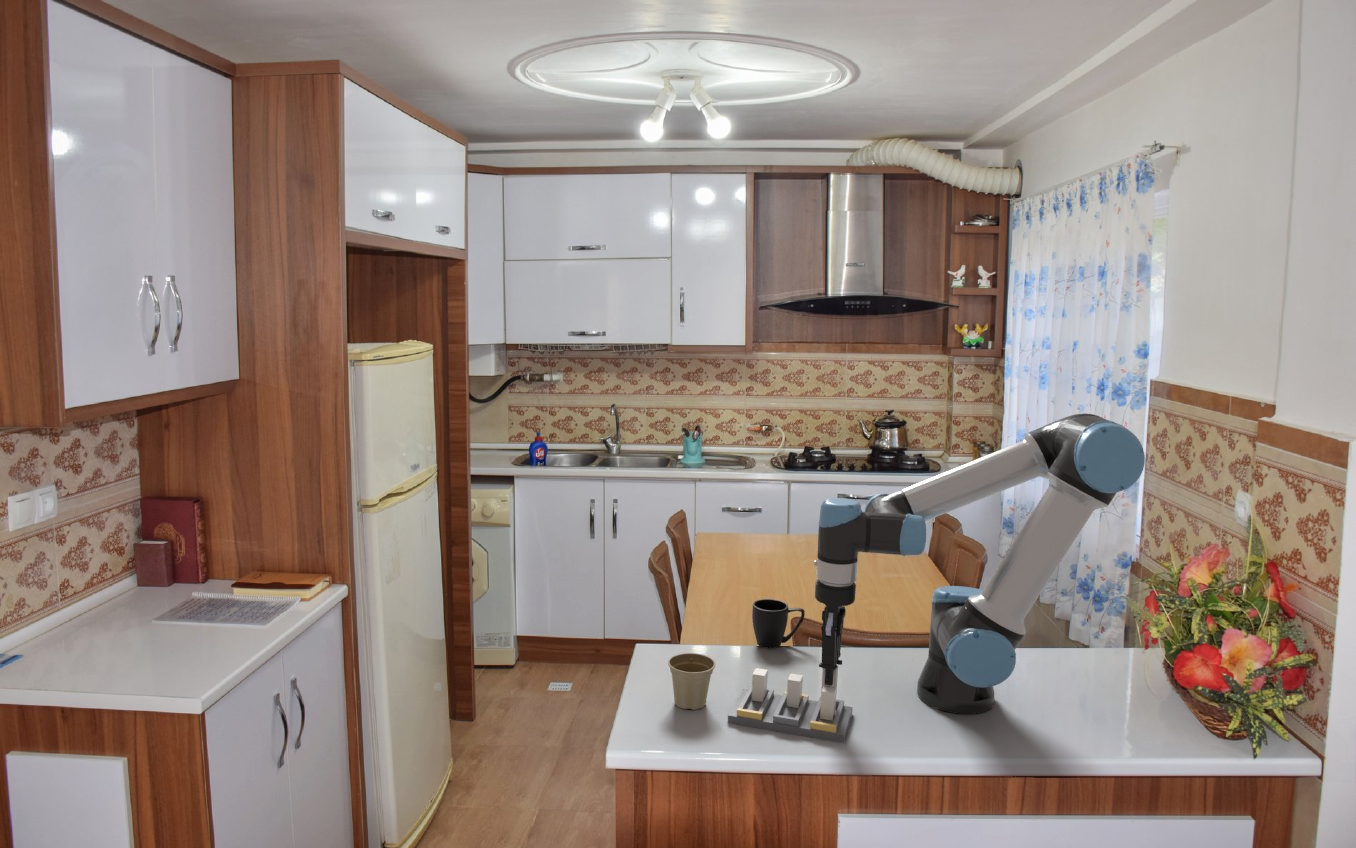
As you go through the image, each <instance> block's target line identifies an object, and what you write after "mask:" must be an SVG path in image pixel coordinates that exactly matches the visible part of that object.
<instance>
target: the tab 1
mask: <svg viewBox="0 0 1356 848" xmlns="http://www.w3.org/2000/svg"><path fill="white" fill-rule="evenodd" d="M768 674H769V670H768V669H766V668H765V669H764V668H758V667H756V668H755V669H754V670H753V673H752V679H751V682H752V683H751V686H752V701H758V702H764V700H765V698H766V696H767V688H768V678H769V677H768V676H769V675H768Z"/></svg>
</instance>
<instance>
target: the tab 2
mask: <svg viewBox="0 0 1356 848" xmlns="http://www.w3.org/2000/svg"><path fill="white" fill-rule="evenodd" d="M803 677H804V675H803V674H796V673H790V674H789V675H788V678H787V686H786V687H787V689H786V690H787V706H788V707H794V708H799V707H800V704H801V702H802V694H803V681H804V680H803V679H804V678H803Z"/></svg>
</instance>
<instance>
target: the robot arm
mask: <svg viewBox="0 0 1356 848" xmlns="http://www.w3.org/2000/svg"><path fill="white" fill-rule="evenodd" d="M1145 463H1146V457H1145V451H1144V448H1143V444H1142V442H1141V441H1140V440H1139V438H1138V437H1137V436H1136V435H1135V433H1133V432H1132V431H1130V430H1129V428H1127V427H1125V426H1123V424H1120V423H1118V422H1115V421H1112V420H1108V419H1105V418H1104V417H1101V416H1099V415H1097V414H1094V413H1087V412H1086V413H1076V414H1072V415H1071V414H1070V415H1068V416H1065V417H1062V418H1060V419H1057V420H1055V421H1052V422H1051V423H1050V422H1049V423H1048V424H1046V425H1043V426H1041V427H1038V428H1036V429H1034V430H1031V431H1028V432H1026V433H1025V434H1024V437H1023V439H1022V440H1021V441H1020V440H1019V441H1018V442H1015V443H1014V444H1010V445H1009V446H1005V447H1004V448H1001V449H998V450H996V451H994V452H991V453H988V454H987V455H984V456H982V457H979V458H977V459H974V460H972V461H969V462H967V463H965V464H962V465H959V466H957V467H954V468H952V469H950V470H948V471H945V472H941V473H939V474H938V475H935V476H933V477H930V478H927V479H925V480H923V481H919V482H918V483H914V484H913V485H911V486H908V487H906V488H903V489H901V490H897V491H894V492H893V493H890V494H889V493H878V494H877V493H876V494H874V495H873V496H871V497H870V498H869V499H868V501H866V504H865V507H864V511H863V509H862V505H861V503H860V502H859V501H857V500H854V499H850V498H846V497H845V498H843V497H832V498H827V499H826V500H824V501H823V502H822V503H821V505H820V511H819V521H818V534H817V535H818V537H817V556H816V557H817V558H816V559H817V560H814V562H813V565H814V566H815V567H817V568H816V576H815V577H816V578H817V579H816V580H815V586H814V587H815V588H814V598H815V600H816V601H817V602H818V603H822V604H823V605H825V606H824V610H822V612H821V620H822V625H821V627H820V630H821V662H819V664H818V667H819V668H821V669H822V674H821V676H822V677H821V693H822V689H823V686H824V685H828V686H835V687H837V689H836V694H837V693H838V692H837V690H838V678H839V677H838V675H839V673H838V672H839V665H840V666H842V665H843V660H842V659H840V658H841V655H842V654H841V649H842V638H843V630H844V621H845V617H846V612H847V611H846V610H847V609H846V607H847V606H850V605H852V604H854V603H855V600H856V590H857V589H856V587H857V583H855V582H857V579H858V578H857V577H858V564H859V561H858V560H859V559H858V557H859V553H868V554H883V555H896V556H897V555H898V556H903V557H905V556H920V555H922V554H923V552H924V551H925V549H926V548H925V547H926V543H927V524H926V521H929V520H932V519H934V518H937V517H939V516H942V515H944V514H947V513H950V512H952V511H955V510H957V509H960V508H963V507H965V506H968V505H970V504H973V503H975V502H978V501H980V500H983V499H985V498H988V497H990V496H993V495H995V494H997V493H998V494H999V493H1000V492H1004V491H1006V490H1008V489H1011V488H1013V487H1017V486H1018V485H1021V484H1023V483H1026V482H1028V481H1030V480H1031V481H1032V480H1033V479H1036V478H1039V477H1041V478H1043V479H1045V480H1047V479H1048V482H1049V484H1048V487H1047V489H1046V490H1045V492H1044V493H1043V495H1042V497H1040V500H1039V502H1037V504H1036V506H1035V508H1034V509H1033V511H1032V512H1031V514H1030V516H1029V517H1028V519H1027V520H1026V522H1025V523H1024V525H1023V527H1022V528H1021V530H1020V531H1019V533H1018V534H1017V536H1016V538H1015V539H1014V541H1013V543H1012V544H1011V546H1009V547H1010V548H1009V549H1008V550H1007V552H1006V553H1005V555H1004V556H1003V558H1002V560H1001V561H1000V563H999V565H998V567H996V570H995V571H994V573H993V574H992V576H991V577H990V579H989V581H988V582H987V584H986V586H985V587H984V588H983V589H981V588H980V589H979V588H977V587H976V588H975V587H970V586H961V585H945V586H940V587H938V588H936V589H934V591H933V595H932V600H931V602H930V603H931V604H930V605H931V613H930V614H931V615H930V626H929V628H930V629H929V641H928V642H929V645H928V655H927V656H928V657H927V659H926V662H925V664H924V666H923V668H922V671H921V672H920V676H919V678H918V679H917V680H918V681H917V688H916V695H917V696H918V697H919V699H920V700H921V701H923V702H924V703H925V704H927V705H928V706H930V707H933V708H935V709H938V710H940V711H941V710H942V711H944V712H948V713H953V714H960V715H962V714H963V715H975V714H981V713H985V712H988V711H989V710H991V709H992V708H993V707H994V705H995V689H994V686H998V685H1000V684H1001V683H1004V682H1005V681H1006V680H1007V679H1008V678H1009V677H1010V676H1011V675H1012V674H1013V672H1014V670H1015V667H1016V663H1017V662H1016V661H1017V653H1016V649H1017V647H1018V646H1019V644H1020V643H1021V641H1022V639H1023V638H1024V637H1025V635H1026V633H1027V630H1026V627H1025V623H1024V621H1025V618H1026V617H1027V615H1028V613H1029V612H1030V611H1031V609H1032V608H1033V606H1034V604H1035V602H1036V601H1037V599H1038V598H1039V596H1040V595H1041V593H1042V592H1043V590H1044V588H1045V587H1046V585H1047V584H1048V582H1049V581H1050V580H1051V578H1052V576H1053V575H1054V573H1055V571H1056V570H1057V569H1058V567H1059V566H1060V564H1061V563H1062V561H1063V559H1064V558H1065V556H1066V554H1067V553H1068V551H1069V550H1070V548H1071V547H1072V545H1073V544H1074V543H1075V541H1076V539H1077V537H1078V536H1079V534H1080V533H1081V531H1082V529H1083V528H1084V526H1085V525H1086V524H1087V522H1088V520H1089V519H1090V517H1091V516H1092V514H1093V513H1094V512H1095V511H1096V510H1100V509H1103V508H1107V507H1109V506H1110V504H1111V502H1112V501H1113V499H1114V498H1115V496H1116V495H1117V493H1119V492H1123V491H1126V490H1127V489H1129V488H1131V487H1132V486H1133V485H1135V483H1136V482H1137V481H1138V480H1139V479H1140V477H1141V476H1142V473H1143V472H1144V468H1145ZM821 693H820V694H821Z"/></svg>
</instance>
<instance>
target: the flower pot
mask: <svg viewBox="0 0 1356 848" xmlns="http://www.w3.org/2000/svg"><path fill="white" fill-rule="evenodd" d="M667 665H668V667H669V669H670V673H671V677H672V678H671V679H672V681H671V682H672V688H673V689H672V690H673V701H674V704H675V706H677V707H678V708H679V709H682V710H688V709H690V710H693V711H695V710H699V709H702V708H704V707H705V706H706V704H707V698H708V691H709V685H710V681H711V676H712V674H713V671H714V670H715V668H716V665H717V664H716V661H715V660H714V659H713V658H712V657H710V656H708V655H705V654H701V653H698V652H696V653H694V652H685V653H684V652H683V653H678V654H676V655H675V654H674V655H673V656H671V657H670V658H668V660H667Z"/></svg>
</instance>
